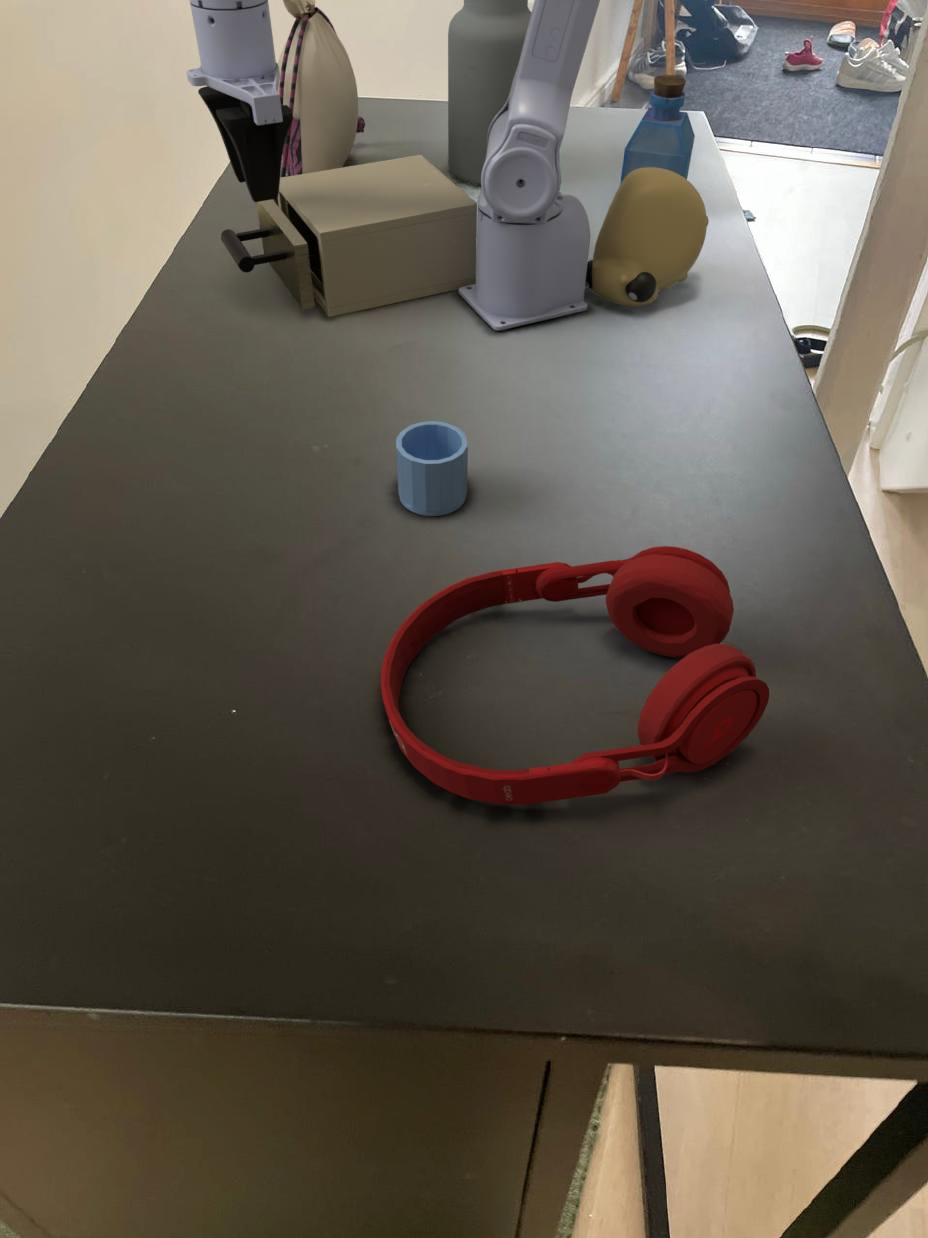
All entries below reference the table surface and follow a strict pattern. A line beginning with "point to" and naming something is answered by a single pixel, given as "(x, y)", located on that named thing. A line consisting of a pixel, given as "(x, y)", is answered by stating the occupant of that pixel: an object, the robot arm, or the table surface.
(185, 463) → the table surface
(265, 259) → the drawer
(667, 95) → the blue corked bottle
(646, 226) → the tan rounded piece
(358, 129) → the pouch
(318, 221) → the wooden drawer box
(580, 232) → the robot arm
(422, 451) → the cup
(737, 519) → the table surface
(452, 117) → the water bottle
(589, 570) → the headphones
